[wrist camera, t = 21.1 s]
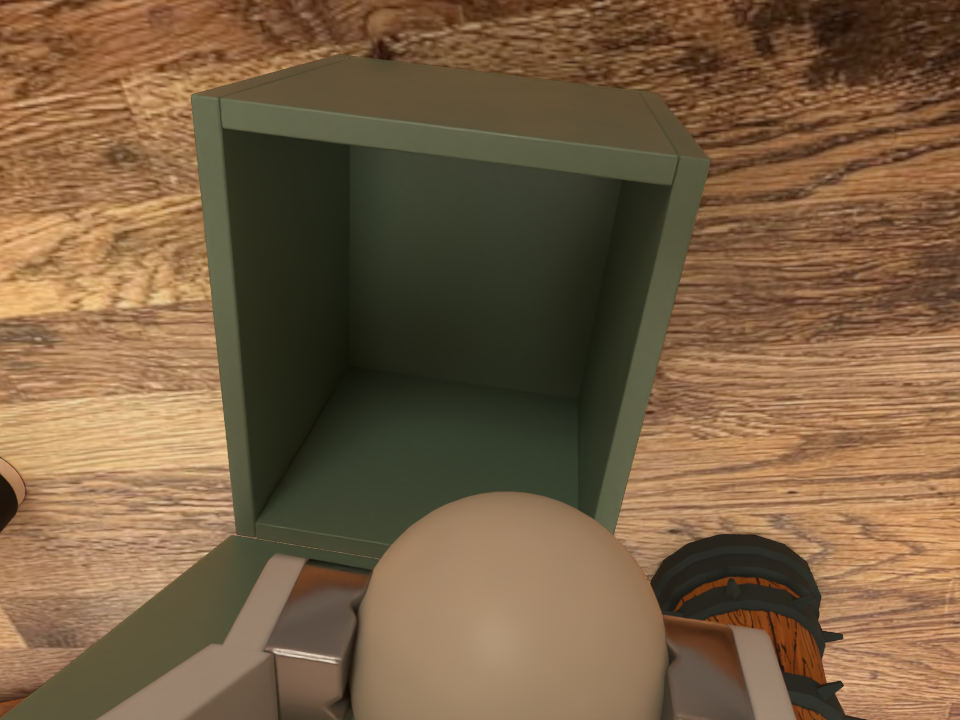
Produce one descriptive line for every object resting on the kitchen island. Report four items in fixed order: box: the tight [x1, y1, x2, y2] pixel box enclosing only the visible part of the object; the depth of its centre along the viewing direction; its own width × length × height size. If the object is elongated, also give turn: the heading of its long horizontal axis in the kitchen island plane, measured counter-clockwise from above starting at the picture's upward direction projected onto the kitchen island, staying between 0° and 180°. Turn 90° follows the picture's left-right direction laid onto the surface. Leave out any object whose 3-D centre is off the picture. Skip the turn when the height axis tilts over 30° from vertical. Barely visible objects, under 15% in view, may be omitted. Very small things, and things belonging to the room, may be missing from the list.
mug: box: [651, 535, 866, 720], centre depth 36 cm, size 13×10×12 cm
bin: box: [191, 54, 711, 559], centre depth 27 cm, size 16×14×13 cm
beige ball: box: [348, 492, 669, 720], centre depth 9 cm, size 4×4×4 cm
